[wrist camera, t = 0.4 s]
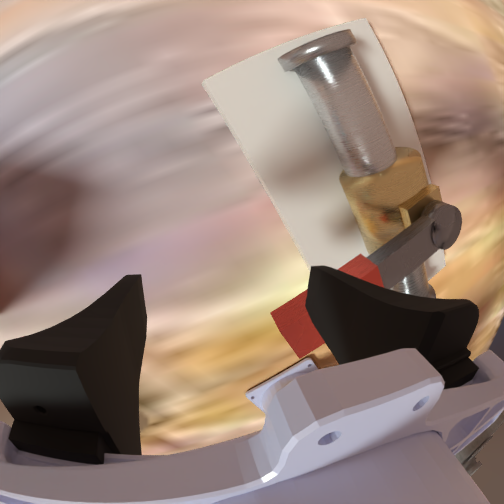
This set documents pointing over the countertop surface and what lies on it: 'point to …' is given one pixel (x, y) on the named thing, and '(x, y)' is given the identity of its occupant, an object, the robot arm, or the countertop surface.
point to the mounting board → (308, 143)
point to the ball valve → (364, 147)
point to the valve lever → (377, 269)
